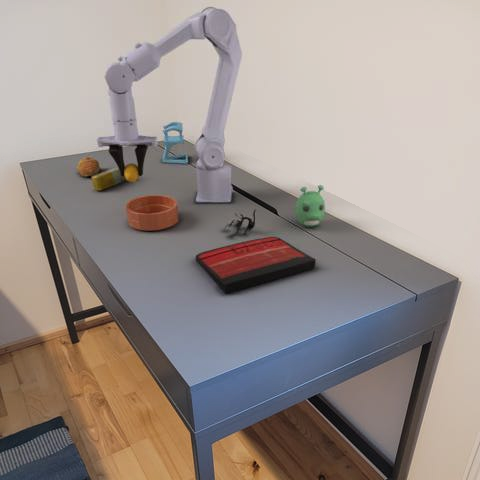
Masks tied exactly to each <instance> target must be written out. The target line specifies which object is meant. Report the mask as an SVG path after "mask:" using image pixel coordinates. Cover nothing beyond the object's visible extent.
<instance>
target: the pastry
mask: <svg viewBox="0 0 480 480" xmlns="http://www.w3.org/2000/svg"><path fill="white" fill-rule="evenodd" d="M76 167H77V171H78V173H79V174H80V176H82V177H85V178H86V177H92V176H95V175H97V174H100V169H101V167H100V162H99V161H98V160H97V159H94V158H93V157H91V156H90V157H88V156H87V157H84V158H82V159H81V158H80V160H79V162H78V165H77V166H76Z"/></svg>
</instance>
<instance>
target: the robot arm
mask: <svg viewBox="0 0 480 480" xmlns="http://www.w3.org/2000/svg"><path fill="white" fill-rule="evenodd" d="M190 40H208V42H210V43H211V44H212V47H213V48H214V50H215V52H216V53H217V55H218V62H217V68H216V73H215V77H214V81H213V86H212V91H211V95H210V99H209V105H208V108H207V109H208V110H207V114H206V118H205V119H206V120H205V123H204V124H203V125H204V126H203V127H202V128H201V131H200V135H199V137H198V138H197V139H196V141H195V143H194V152H195V154H196V156H197V157H198V160H197V162H196V178H197V179H196V180H197V181H196V182H197V194H196V198H195V203H231V202H232V195H233V192H234V191H233V189H234V188H233V185H232V165H231V164H225V163H224V161H225V159H226V153H225V143H226V140H225V139H226V138H225V130H226V129H225V127H226V124H227V121H228V116H229V111H230V107H231V103H232V99H233V94H234V91H235V88H236V87H235V86H236V82H237V78H238V73H239V69H240V65H241V61H242V55H243V52H242V48H241V44H240V41H239V36H238V32H237V24H236V22H235V21H234V19H233V18H232V17H231V15H230V14H229V12H228V11H227V10H225V9H223V8H216V7H214V6H207V7H205V8H203V9H202V10H201V11H198V12H196V13H193V14H192V15H190V16H188V17H187V18H185V19H184V20H183V21H181V22H180V23H179V24H177V25H176V26H175V27H174V28H171V30H170V31H168V32H167V33H166V34H164V35H163V36H161V37H160V38H159V39H158V40H156V41H154V42H153V43H151V42H147V41H143V42H142V43H140V42H139V41H138V42H136V43H135V44H134V49H132V50H130V51H129V52H127V53H126V54H125V55H124V56H121V55H119V56H118V57H117V58H116V59H117V62H116V61H114V62H111V63H110V64H108V65H107V67H106V69H105V71H104V79H105V82H106V84H107V86H108V91H107V92H108V96H109V99H108V101H109V108H110V114H111V115H110V116H111V122H112V129H113V134H114V135H111V136H98V138H96V142H97V147H98V148H103V147H108V153H109V155H110V156H111V158H112V159H113V161H114V163H115V164H116V167H118V168H119V170H120V173H121V176H124V168H125V166H126V165H125V161H124V160H125V159H124V149H123V148H124V147H135V148H134V153H135V158H136V162H137V166H138V173H139V177H142V176H143V175H144V164H145V159H146V154H147V151H148V148H149V147H153V148H156V147H158V144H159V143H158V137H157V136H150V135H149V136H148V135H139V129H138V121H137V120H138V119H137V113H136V105H135V98H134V96H133V91H132V87H133V84H134V83H135V82H139V81H140V80H142V79H143V78H145V77H146V76H148V75H149V74H150V73H152V72H153V71H155V70H156V69H158V68H160V63H161V59H162V58H163V57H164V56H166V55H168V54H169V53H171V52H172V51H174V50H175V49H177V48H179V47H180V46H182V45H184V44H185V43H187V42H189V41H190Z"/></svg>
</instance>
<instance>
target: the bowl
mask: <svg viewBox="0 0 480 480" xmlns="http://www.w3.org/2000/svg"><path fill="white" fill-rule="evenodd" d="M178 206H179V204H178V201H177V199H175V198H173V197H172V196H168V195H164V194H146V195H142V196H138V197H135V198H132V199H130V200H129V201H128V202H127V203H126V204H125V213H126V219H127V223H128V225H129V226H130V227H131V228H133V229H136V230H139V231H147V232H149V231H160V230H164V229H168V228H170V227H173V226H174V225H175V224H177V223H178V222H179V218H180V216H179V207H178Z"/></svg>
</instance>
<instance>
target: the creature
mask: <svg viewBox="0 0 480 480" xmlns="http://www.w3.org/2000/svg"><path fill="white" fill-rule="evenodd" d="M256 211H257V209H256V208H255V209H254V211H253V213H252V217H253V220H252V218H250V217H248V216H244V215H243V214H242V213H239V215H240V216H241V217H240V216H238V214H235V216H236V220H234V219H233V220H232V221H231V222H230V223H228V224H226V225H225V226H224V228H223V229H224V230H226V228H227V227H229V228H231V227H232V225H233V224H234V223H235V225H234V227H236V228H237V231H236V232H235V233H234V234H232V235H230V238H233V237H234V236H236V235H238V234H239V231H240V229H241V228H242V229H245V230H244V233H242V235H243V236H246V233H247V231H249V232H250V231H251V230H253V229H254V228H255V226H256ZM238 218H239V219H240V220H239V219H238ZM245 220H248V224H247V226H246V227H244V226H243V227H242V225H243V223H244V221H245Z"/></svg>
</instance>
